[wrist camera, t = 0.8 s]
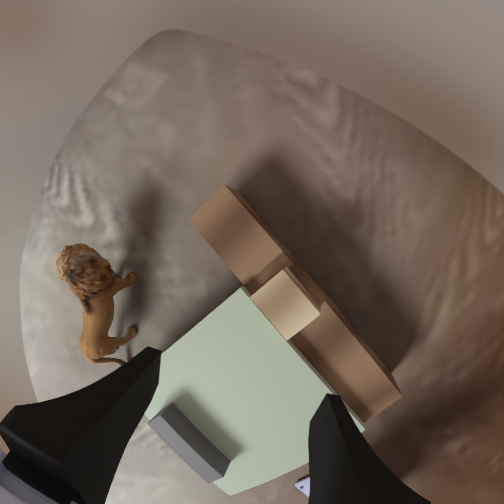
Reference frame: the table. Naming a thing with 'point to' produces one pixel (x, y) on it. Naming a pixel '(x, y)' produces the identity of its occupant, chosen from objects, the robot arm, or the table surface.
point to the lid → (237, 398)
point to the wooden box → (331, 318)
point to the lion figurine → (94, 299)
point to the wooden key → (286, 303)
